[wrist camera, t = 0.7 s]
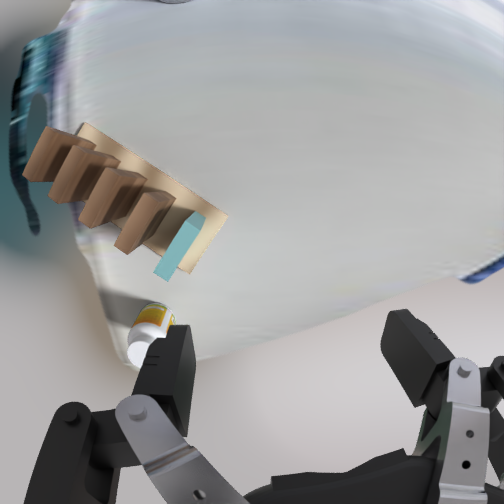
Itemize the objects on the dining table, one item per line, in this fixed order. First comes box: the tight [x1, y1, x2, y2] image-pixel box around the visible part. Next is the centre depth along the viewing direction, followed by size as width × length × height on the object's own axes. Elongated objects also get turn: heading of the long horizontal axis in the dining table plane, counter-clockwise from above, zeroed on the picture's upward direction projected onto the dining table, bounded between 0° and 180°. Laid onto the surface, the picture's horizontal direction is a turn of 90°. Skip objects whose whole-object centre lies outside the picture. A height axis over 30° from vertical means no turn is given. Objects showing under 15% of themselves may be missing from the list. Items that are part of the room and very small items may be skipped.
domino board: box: [77, 123, 228, 274], centre depth 34 cm, size 24×9×1 cm, turn 55°
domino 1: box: [22, 126, 97, 182], centre depth 26 cm, size 2×6×11 cm, turn 145°
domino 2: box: [48, 145, 121, 204], centre depth 27 cm, size 2×6×11 cm, turn 145°
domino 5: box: [153, 211, 206, 282], centre depth 30 cm, size 2×6×11 cm, turn 145°
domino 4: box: [114, 191, 176, 255], centre depth 29 cm, size 2×6×11 cm, turn 145°
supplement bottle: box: [127, 303, 176, 368], centre depth 33 cm, size 5×5×10 cm
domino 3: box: [78, 167, 148, 228], centre depth 28 cm, size 2×6×11 cm, turn 145°
